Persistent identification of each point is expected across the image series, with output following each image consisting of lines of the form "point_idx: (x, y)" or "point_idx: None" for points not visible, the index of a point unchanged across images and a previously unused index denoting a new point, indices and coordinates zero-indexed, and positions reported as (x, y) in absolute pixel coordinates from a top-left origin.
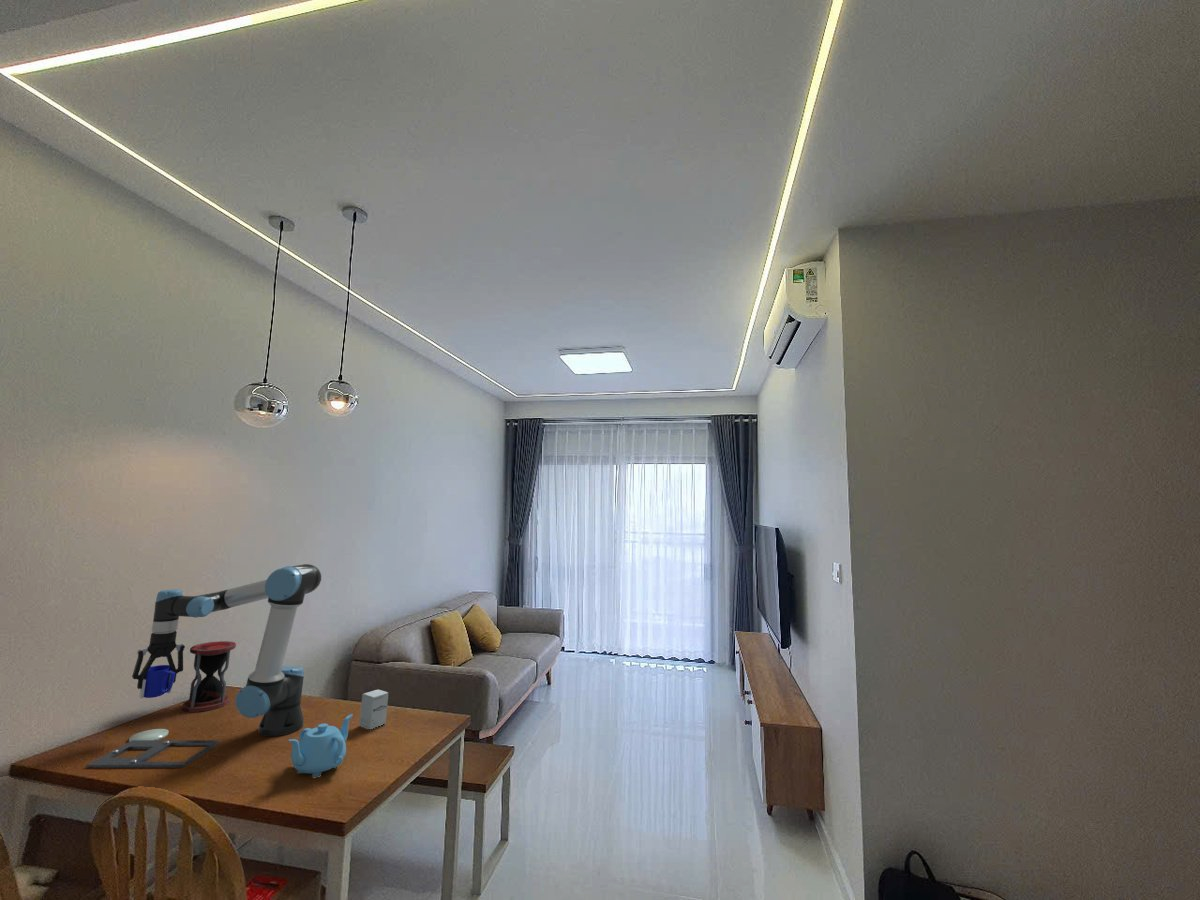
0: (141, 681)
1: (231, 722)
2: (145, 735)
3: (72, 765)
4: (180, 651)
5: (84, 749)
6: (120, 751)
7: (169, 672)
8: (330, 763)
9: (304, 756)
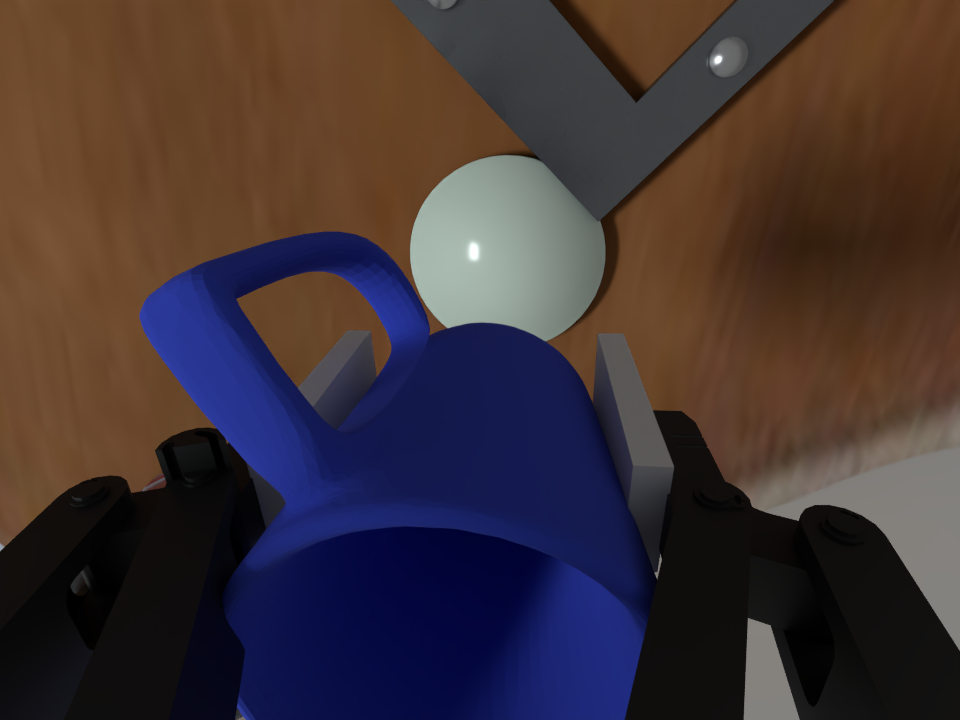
0: (681, 476)
1: (88, 171)
2: (524, 267)
3: (947, 51)
4: None
5: (799, 307)
6: (701, 36)
7: (242, 356)
8: None
9: None
